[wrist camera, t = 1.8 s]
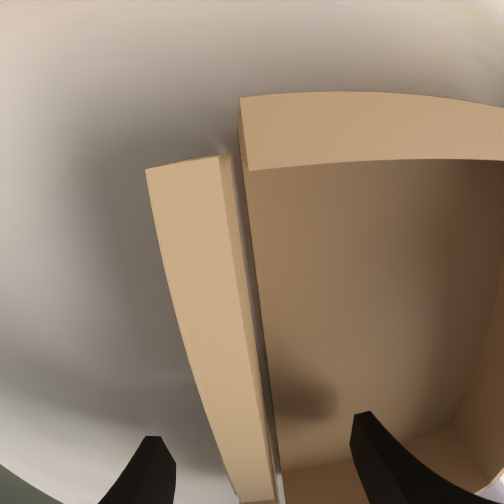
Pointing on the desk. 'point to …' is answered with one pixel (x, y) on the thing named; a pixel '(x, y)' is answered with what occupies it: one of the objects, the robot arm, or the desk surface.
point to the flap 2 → (274, 502)
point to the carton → (379, 280)
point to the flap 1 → (214, 310)
